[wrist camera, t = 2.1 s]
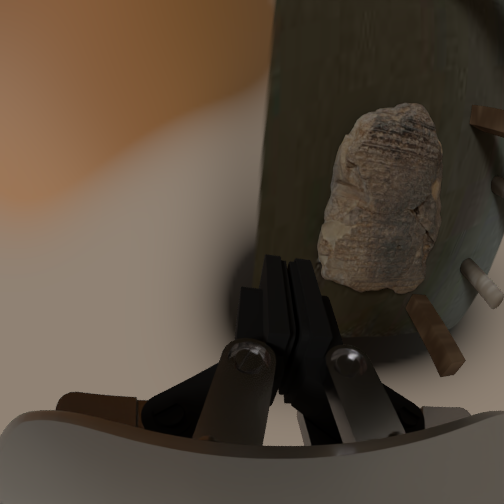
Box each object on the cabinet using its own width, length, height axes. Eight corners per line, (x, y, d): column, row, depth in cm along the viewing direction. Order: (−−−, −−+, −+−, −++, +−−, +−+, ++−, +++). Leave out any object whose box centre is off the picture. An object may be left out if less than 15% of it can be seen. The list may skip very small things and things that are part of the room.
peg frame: (472, 104, 19) (551, 122, 8) (512, 133, 19) (579, 160, 9) (405, 308, 32) (440, 377, 22) (448, 310, 33) (484, 368, 22)
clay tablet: (335, 84, 21) (304, 274, 30) (353, 79, 16) (312, 302, 26) (451, 122, 21) (408, 280, 31) (479, 128, 17) (426, 304, 26)
